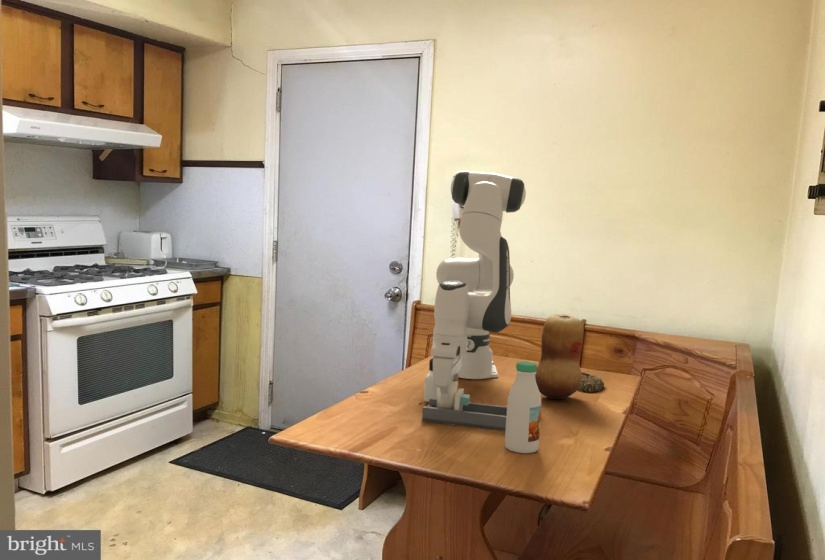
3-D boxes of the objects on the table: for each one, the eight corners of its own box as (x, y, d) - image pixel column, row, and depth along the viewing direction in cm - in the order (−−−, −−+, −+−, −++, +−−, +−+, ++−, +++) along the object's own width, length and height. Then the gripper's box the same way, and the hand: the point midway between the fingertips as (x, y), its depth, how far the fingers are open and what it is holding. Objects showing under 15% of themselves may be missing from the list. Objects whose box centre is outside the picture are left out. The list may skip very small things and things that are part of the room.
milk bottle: (516, 455, 143) (521, 368, 141) (498, 444, 150) (503, 360, 148) (545, 452, 146) (550, 366, 144) (526, 440, 153) (531, 358, 151)
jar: (438, 404, 170) (440, 370, 169) (458, 406, 169) (460, 372, 168) (434, 409, 165) (435, 375, 164) (454, 412, 164) (456, 377, 163)
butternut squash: (560, 407, 181) (566, 320, 179) (524, 396, 191) (529, 313, 189) (590, 400, 190) (596, 316, 188) (553, 389, 200) (558, 310, 198)
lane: (429, 410, 173) (430, 381, 172) (519, 421, 167) (521, 391, 166) (422, 421, 164) (423, 390, 163) (516, 432, 159) (518, 400, 158)
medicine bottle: (448, 404, 180) (450, 362, 179) (423, 401, 181) (425, 360, 180) (452, 397, 187) (454, 357, 186) (428, 395, 188) (430, 355, 187)
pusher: (457, 411, 170) (459, 388, 169) (469, 412, 169) (471, 389, 168) (453, 418, 164) (455, 394, 163) (466, 419, 163) (467, 395, 162)
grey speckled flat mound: (609, 388, 206) (610, 373, 206) (592, 395, 197) (593, 379, 196) (572, 380, 214) (573, 365, 214) (554, 386, 205) (555, 371, 205)
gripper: (445, 336, 176) (443, 385, 178) (429, 350, 156) (426, 405, 158) (468, 338, 175) (465, 387, 176) (454, 353, 155) (452, 408, 156)
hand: (447, 396), depth 167 cm, fingers closed on jar, 5 cm apart
